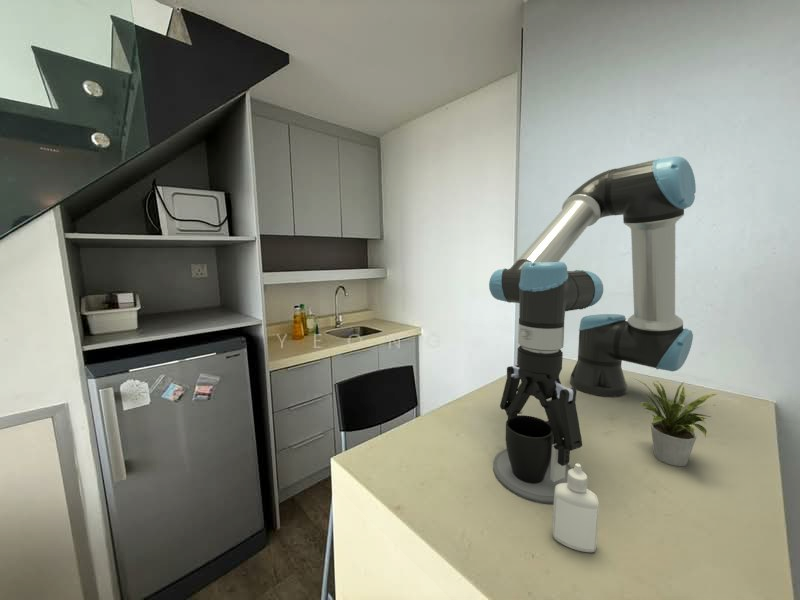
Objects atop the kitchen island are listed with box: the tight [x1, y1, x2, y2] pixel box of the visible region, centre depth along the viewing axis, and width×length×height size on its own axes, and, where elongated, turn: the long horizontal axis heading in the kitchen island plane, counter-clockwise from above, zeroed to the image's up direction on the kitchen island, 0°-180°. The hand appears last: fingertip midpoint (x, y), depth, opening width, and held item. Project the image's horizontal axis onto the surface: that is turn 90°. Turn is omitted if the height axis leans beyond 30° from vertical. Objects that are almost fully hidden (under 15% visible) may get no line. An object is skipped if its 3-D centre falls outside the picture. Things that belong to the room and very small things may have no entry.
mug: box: [505, 414, 556, 484], centre depth 60 cm, size 8×12×10 cm
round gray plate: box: [492, 448, 573, 505], centre depth 61 cm, size 15×15×1 cm
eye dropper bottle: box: [551, 463, 600, 553], centre depth 46 cm, size 4×6×12 cm
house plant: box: [631, 377, 718, 467], centre depth 65 cm, size 14×14×16 cm
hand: (534, 461), depth 61 cm, fingers open, 9 cm apart
